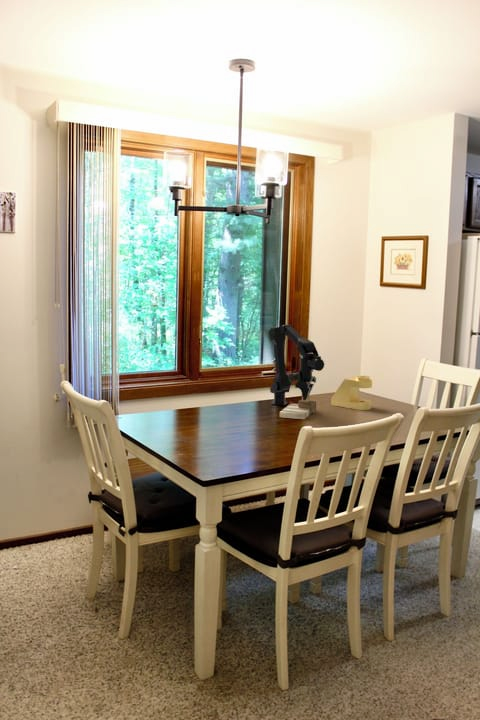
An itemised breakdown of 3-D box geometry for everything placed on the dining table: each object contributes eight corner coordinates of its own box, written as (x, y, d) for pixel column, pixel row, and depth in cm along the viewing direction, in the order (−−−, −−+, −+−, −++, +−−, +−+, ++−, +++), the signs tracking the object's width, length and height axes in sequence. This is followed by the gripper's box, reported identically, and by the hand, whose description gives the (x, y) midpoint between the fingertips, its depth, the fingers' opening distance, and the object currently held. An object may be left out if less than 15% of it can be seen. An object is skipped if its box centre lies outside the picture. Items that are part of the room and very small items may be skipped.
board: (290, 408, 333) (291, 403, 332) (314, 410, 329) (314, 405, 328) (279, 417, 314) (279, 411, 314) (304, 419, 310) (304, 414, 310)
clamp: (374, 408, 335) (375, 376, 333) (364, 411, 328) (366, 379, 326) (341, 402, 348) (341, 372, 346) (331, 405, 341) (331, 374, 339)
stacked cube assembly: (300, 409, 327) (300, 389, 326) (316, 410, 324) (316, 390, 323) (297, 411, 322) (298, 391, 321) (313, 413, 320) (314, 392, 318)
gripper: (294, 363, 332) (294, 394, 334) (284, 369, 314) (284, 402, 317) (316, 365, 328) (316, 396, 330) (307, 371, 311) (307, 403, 313)
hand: (305, 399), depth 323 cm, fingers closed on stacked cube assembly, 3 cm apart
